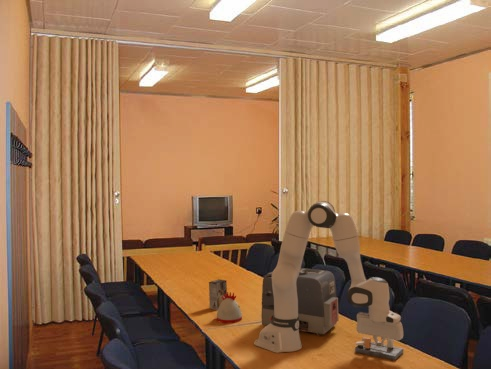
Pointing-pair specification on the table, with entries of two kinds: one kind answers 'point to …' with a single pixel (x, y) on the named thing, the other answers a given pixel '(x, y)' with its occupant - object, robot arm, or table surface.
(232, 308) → the kitchen timer
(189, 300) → the table surface
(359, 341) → the plate
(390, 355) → the console
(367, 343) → the fader orange
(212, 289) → the coffee box
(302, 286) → the film projector
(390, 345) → the fader ivory
